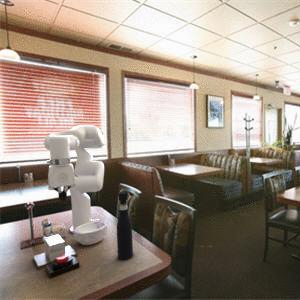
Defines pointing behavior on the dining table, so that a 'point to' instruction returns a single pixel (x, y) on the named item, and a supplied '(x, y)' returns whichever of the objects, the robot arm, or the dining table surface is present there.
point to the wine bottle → (124, 229)
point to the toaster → (54, 247)
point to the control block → (62, 266)
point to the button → (62, 258)
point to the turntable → (43, 260)
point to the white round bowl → (90, 233)
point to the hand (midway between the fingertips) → (62, 200)
